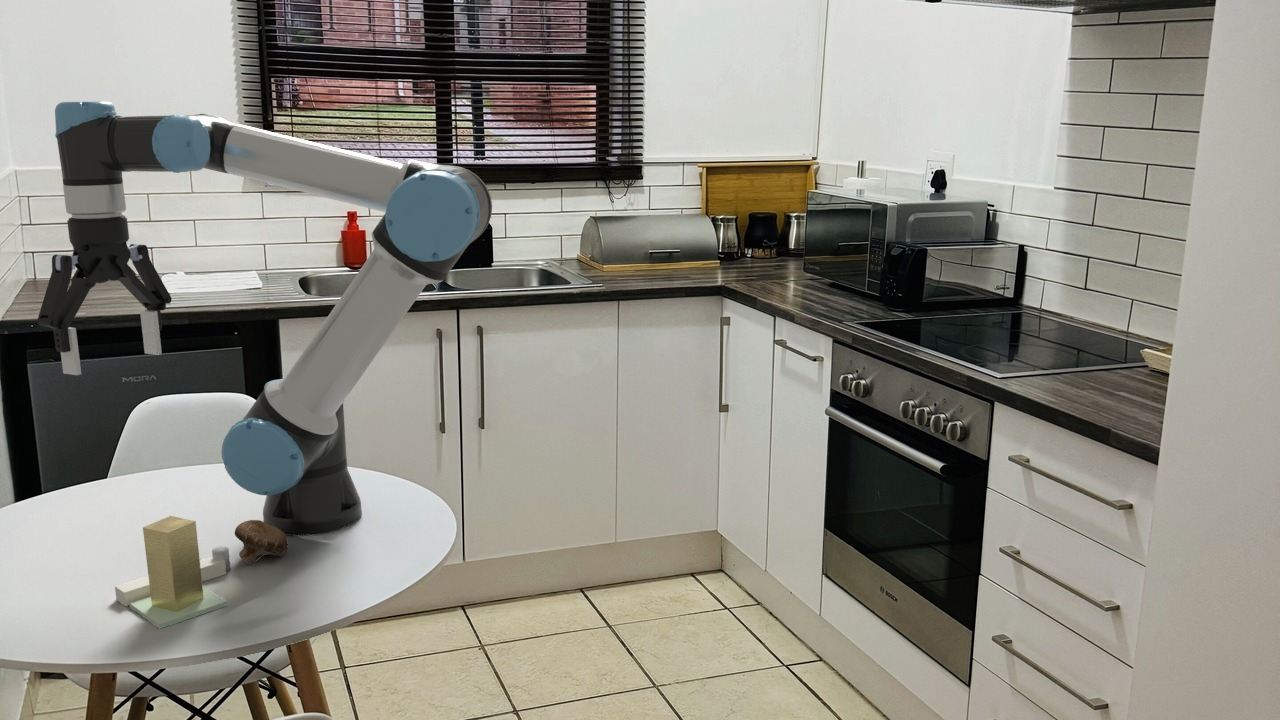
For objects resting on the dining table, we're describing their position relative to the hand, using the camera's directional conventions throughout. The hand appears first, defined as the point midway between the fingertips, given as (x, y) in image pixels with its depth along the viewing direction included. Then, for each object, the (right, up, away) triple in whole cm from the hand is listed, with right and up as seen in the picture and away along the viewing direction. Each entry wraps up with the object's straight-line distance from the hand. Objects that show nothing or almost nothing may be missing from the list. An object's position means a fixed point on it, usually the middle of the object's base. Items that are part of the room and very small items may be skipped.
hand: (114, 363), depth 157 cm
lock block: (+14, -32, -12) cm, 37 cm away
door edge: (+11, -31, -6) cm, 33 cm away
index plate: (+14, -32, -12) cm, 37 cm away
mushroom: (+20, -29, +4) cm, 35 cm away
